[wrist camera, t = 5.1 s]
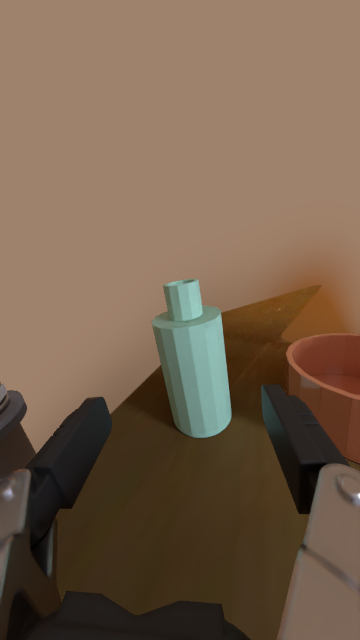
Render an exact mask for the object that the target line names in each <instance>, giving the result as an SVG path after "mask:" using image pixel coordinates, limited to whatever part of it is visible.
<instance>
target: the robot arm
mask: <svg viewBox="0 0 360 640" xmlns="http://www.w3.org/2000/svg"><path fill="white" fill-rule="evenodd" d="M261 392H262V412H263V418H264V423H265V426H266V429H267V431H268V434H269V436H270V439H271V442H272V444H273V447H274V450H275V452H276V455H277V458H278V460H279V463H280V465H281V468H282V471H283V473H284V476H285V479H286V481H287V484H288V487H289V489H290V492H291V494H292V497H293V500H294V502H295V505H296V508H297V510H298V513H299V514H309V515H310V516H309V520H308V525H307V529H306V533H305V537H304V541H303V544H302V545H301V546H300V548H299V551H298V555H297V558H296V562H295V566H294V571H293V575H292V579H291V583H290V587H289V591H288V595H287V600H286V604H285V608H284V612H283V616H282V620H281V624H280V628H279V633H278V637H277V640H360V472H359V471H358V470H356V469H354V468H352V467H351V466H350V465H349V464H348V463H347V461H346V460H345V458H344V457H343V456H342V454H341V453H340V451H339V450H338V448H337V447H336V446H335V444H334V443H333V441H332V440H331V439H330V437H329V436H328V434H327V433H326V431H325V430H324V429H323V427H322V426H321V425H320V424H319V422H318V420H317V419H316V417H315V416H313V413H312V412H311V410H310V409H309V407H308V406H307V405H306V403H305V402H303V401H302V400H300V399H299V398H298V397H296V396H295V395H288V396H286V394H285V392H284V391H283V389H282V387H281V386H280V385H279V384H273V385H262V387H261ZM9 403H10V398H9V396H8V394H7V390H6V388H5V386H4V384H1V382H0V414H1V413H2V412H3V411H4V410H5V409H6V408H7V407H8V405H9ZM111 428H112V420H111V417H110V414H109V411H108V408H107V405H106V402H105V400H104V398H103V397H93V398H87V399H86V400H85V401H84V402H83V403H82V405H81V406H80V407H79V408H78V409H76V410H75V411H74V412H73V413H72V414H70V415H69V416H68V417H67V418H66V419H65V420H64V421H63V423H62V424H61V425H60V427H59V428H58V429H57V430H56V431H55V432H54V434H53V436H51V437H50V439H49V440H48V441H47V442H46V443H45V445H44V446H43V447H42V448H41V449H40V451H39V452H38V453H37V454H36V455H35V457H34V458H33V459H32V460H31V462H30V463H29V464H28V465H27V466H26V468H25V469H19V470H16V471H14V472H12V473H10V474H8V475H7V476H5V477H4V478H2V479H1V480H0V640H250V639H249V638H248V637H247V635H246V634H244V633H243V632H242V631H241V630H239V629H238V628H237V627H236V626H234V625H233V624H231V623H229V622H227V621H226V620H225V619H224V614H223V609H222V604H214V603H202V602H190V601H178V602H175V603H172V604H169V605H166V606H164V607H161V608H158V609H155V610H153V611H150V612H147V613H144V614H142V615H133V614H131V613H130V612H128V611H127V610H125V609H124V608H122V607H121V606H119V605H118V604H116V603H115V602H113V601H111V600H110V599H108V598H107V597H105V596H104V595H102V594H97V593H85V592H73V591H66V594H65V597H64V599H63V602H62V604H61V601H60V596H59V593H58V589H57V580H56V572H57V519H56V517H55V516H56V514H57V512H58V511H59V509H60V508H63V509H72V507H73V505H74V503H75V501H76V499H77V497H78V495H79V493H80V491H81V489H82V487H83V485H84V483H85V481H86V479H87V477H88V475H89V473H90V471H91V469H92V467H93V465H94V463H95V462H96V460H97V458H98V456H99V454H100V452H101V450H102V448H103V446H104V444H105V442H106V440H107V438H108V436H109V434H110V432H111Z"/></svg>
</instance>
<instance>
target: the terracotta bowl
mask: <svg viewBox="0 0 360 640" xmlns="http://www.w3.org/2000/svg"><path fill="white" fill-rule="evenodd" d="M288 395H295V396H296V397H298V398H299V399H300V400H302V401H303V402H305V403H306V405H307V406H308V407H309V409H310V410H311V412H312V413H313V416H315V417H316V419H317V420H318V422H319V424H320V425H321V426H322V427H323V429H324V430H325V431H326V433H327V434H328V436H329V437H330V439H331V440H332V441H333V443H334V444H335V446H336V447H337V448H338V450H339V451H340V453H341V454H342V456H343V457H345V458H347V459H349V460H351V461H354V462H356V463H359V464H360V334H350V333H333V334H332V333H330V334H319V335H313V336H308V337H305V338H302V339H299V340H297V341H295V342H294V343H293V344H291V345H290V346H289V347H288V350H287V352H286V396H288Z"/></svg>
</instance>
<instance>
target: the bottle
mask: <svg viewBox="0 0 360 640" xmlns="http://www.w3.org/2000/svg"><path fill="white" fill-rule="evenodd" d="M163 288H164V293H165V298H166V303H167V308H168V312H165V313H162V314H160V315H159V316H157V317H155V319H153V320H152V325H153V330H154V335H155V339H156V344H157V348H158V353H159V357H160V362H161V366H162V371H163V375H164V380H165V384H166V389H167V393H168V398H169V402H170V407H171V411H172V415H173V420H174V423H175V425H176V427H177V428H178V429H179V430H180V431H181V432H182V433H184V434H186V435H188V436H191V437H195V438H205V437H210V436H214V435H216V434H218V433H220V432H221V431H222V430H224V429H225V428H226V427H227V425H228V424H229V422H230V419H231V403H230V394H229V385H228V375H227V366H226V357H225V347H224V338H223V329H222V319H221V310H220V309H218V308H216V307H211V306H202V304H201V296H200V290H199V281H198V280H197V279H187V280H181V281H175V282H171V283H167V284H165V285H163Z"/></svg>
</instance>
